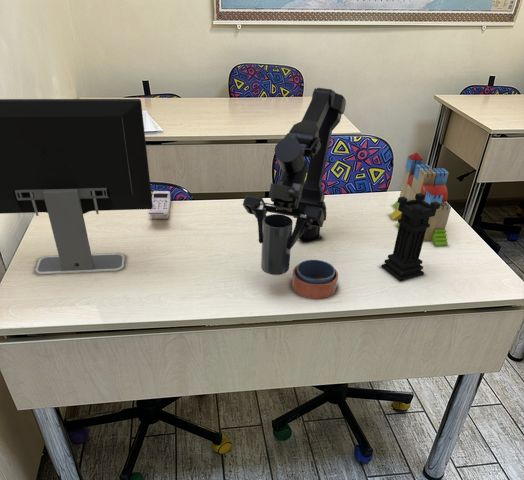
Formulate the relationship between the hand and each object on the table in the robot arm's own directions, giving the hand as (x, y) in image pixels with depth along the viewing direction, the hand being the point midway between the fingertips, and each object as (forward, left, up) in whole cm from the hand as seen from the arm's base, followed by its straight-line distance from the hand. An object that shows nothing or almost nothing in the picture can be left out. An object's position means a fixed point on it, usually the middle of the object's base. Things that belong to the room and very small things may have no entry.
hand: (274, 245), depth 118 cm
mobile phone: (+11, -55, -14) cm, 58 cm away
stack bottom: (-12, +1, -13) cm, 18 cm away
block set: (-60, -16, -14) cm, 64 cm away
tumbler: (-1, -1, -7) cm, 7 cm away
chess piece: (-38, +4, -14) cm, 40 cm away
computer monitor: (+40, -33, -14) cm, 54 cm away
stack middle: (-12, +1, -13) cm, 18 cm away
